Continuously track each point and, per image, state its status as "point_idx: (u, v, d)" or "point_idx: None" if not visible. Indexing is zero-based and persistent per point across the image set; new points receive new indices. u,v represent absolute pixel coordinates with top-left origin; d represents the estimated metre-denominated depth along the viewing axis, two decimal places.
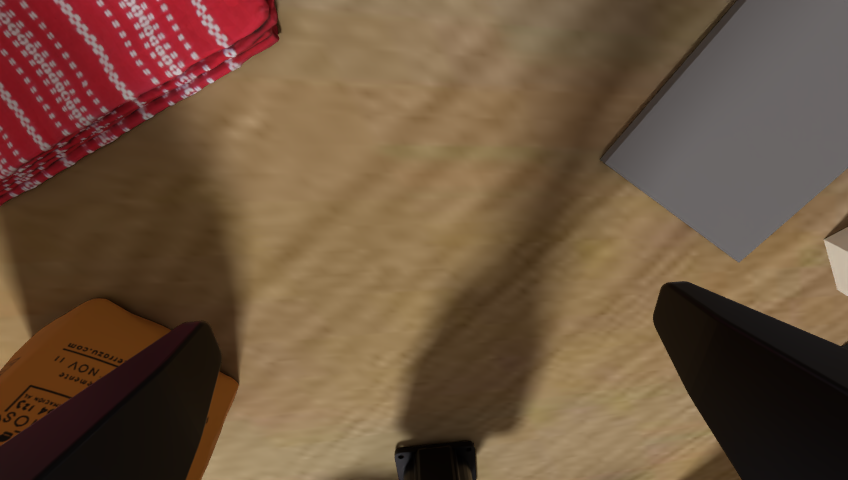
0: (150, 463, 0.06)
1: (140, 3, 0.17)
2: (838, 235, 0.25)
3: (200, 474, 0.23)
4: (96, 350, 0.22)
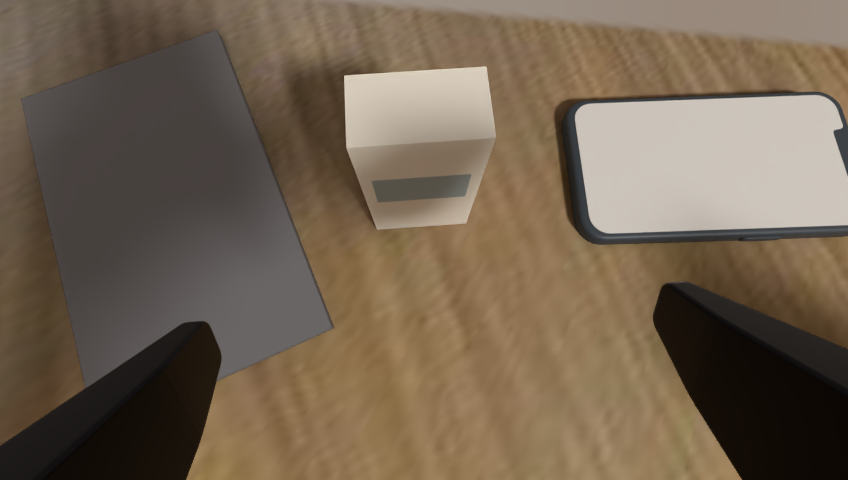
0: (150, 463, 0.06)
1: None
2: None
3: None
4: None
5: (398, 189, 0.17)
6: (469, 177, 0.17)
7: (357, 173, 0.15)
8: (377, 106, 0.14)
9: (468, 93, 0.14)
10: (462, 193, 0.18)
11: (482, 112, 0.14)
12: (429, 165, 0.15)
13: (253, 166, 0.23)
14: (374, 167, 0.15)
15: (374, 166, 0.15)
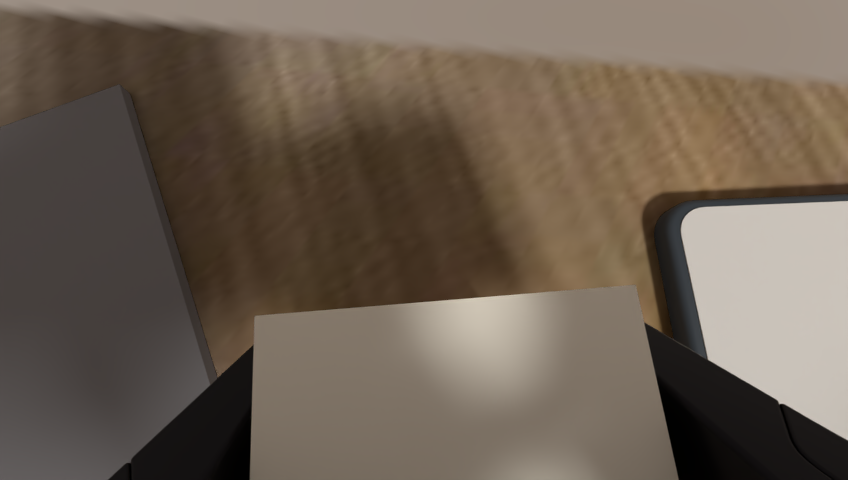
0: None
1: None
2: None
3: None
4: None
5: None
6: None
7: None
8: (342, 418, 0.05)
9: (594, 371, 0.05)
10: None
11: (640, 436, 0.05)
12: None
13: (163, 316, 0.14)
14: None
15: None
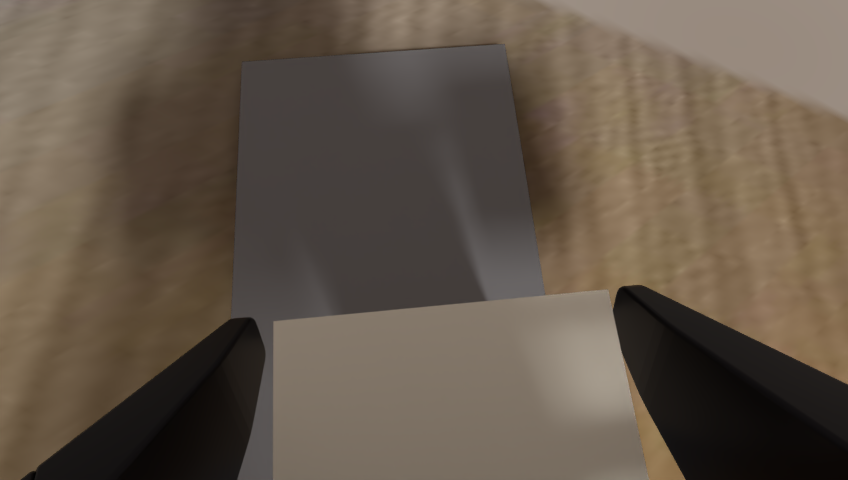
0: (210, 458, 0.06)
1: None
2: None
3: None
4: None
5: None
6: None
7: None
8: (352, 409, 0.06)
9: (572, 365, 0.06)
10: None
11: (611, 421, 0.06)
12: None
13: (517, 252, 0.16)
14: None
15: None
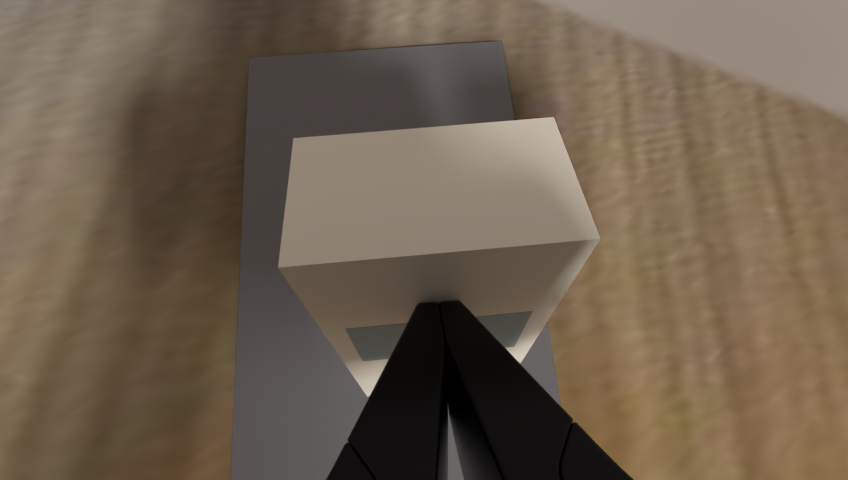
0: (446, 436, 0.06)
1: None
2: None
3: None
4: None
5: (397, 340, 0.09)
6: (528, 317, 0.09)
7: (315, 316, 0.08)
8: (350, 186, 0.07)
9: (527, 159, 0.07)
10: (510, 343, 0.10)
11: (561, 191, 0.07)
12: (454, 298, 0.08)
13: None
14: (346, 305, 0.08)
15: (346, 303, 0.07)
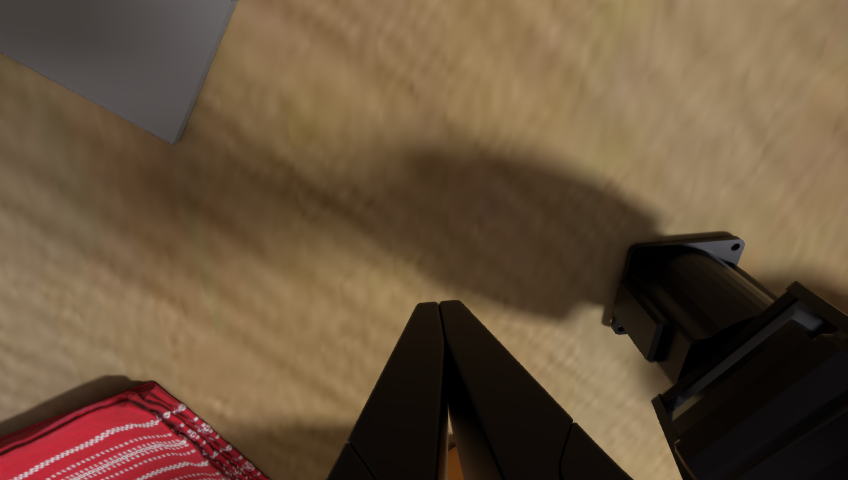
0: (446, 436, 0.06)
1: (152, 444, 0.28)
2: None
3: None
4: None
5: None
6: None
7: None
8: None
9: None
10: None
11: None
12: None
13: None
14: None
15: None
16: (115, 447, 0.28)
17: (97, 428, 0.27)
